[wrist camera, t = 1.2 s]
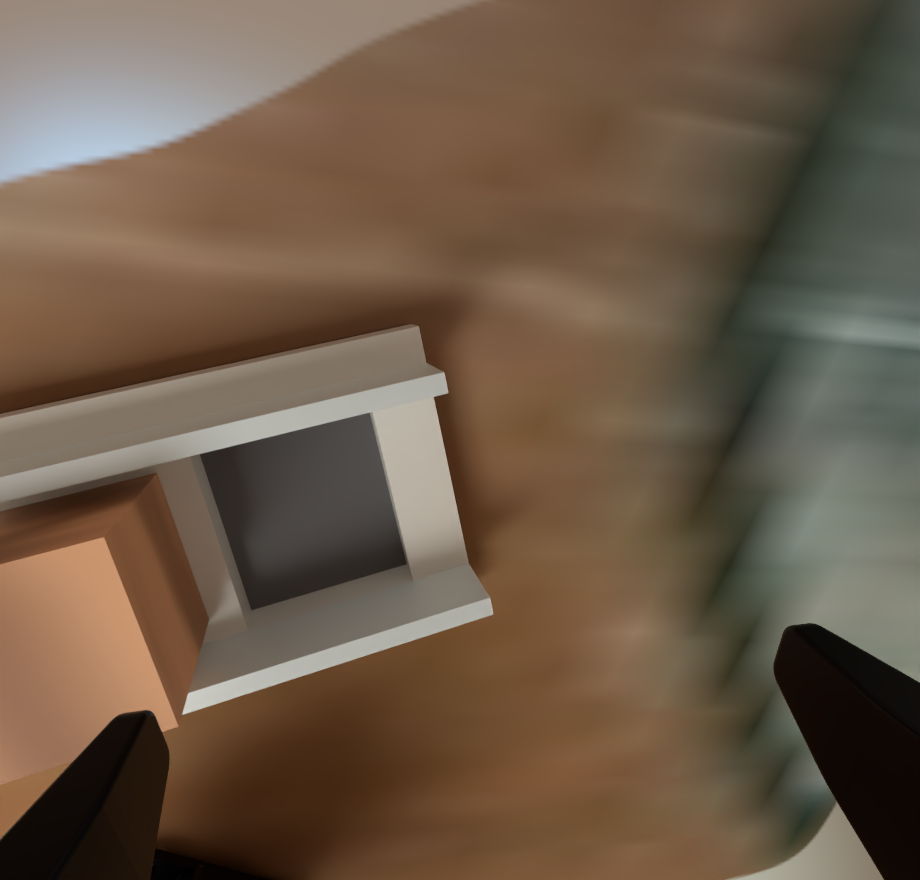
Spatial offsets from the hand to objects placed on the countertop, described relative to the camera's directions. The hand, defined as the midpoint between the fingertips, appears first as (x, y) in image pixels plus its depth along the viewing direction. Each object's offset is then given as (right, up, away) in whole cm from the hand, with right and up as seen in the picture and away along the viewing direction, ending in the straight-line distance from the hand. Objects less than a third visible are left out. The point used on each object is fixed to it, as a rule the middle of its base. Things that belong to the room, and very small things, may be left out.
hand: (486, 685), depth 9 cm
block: (-11, 0, +9) cm, 14 cm away
